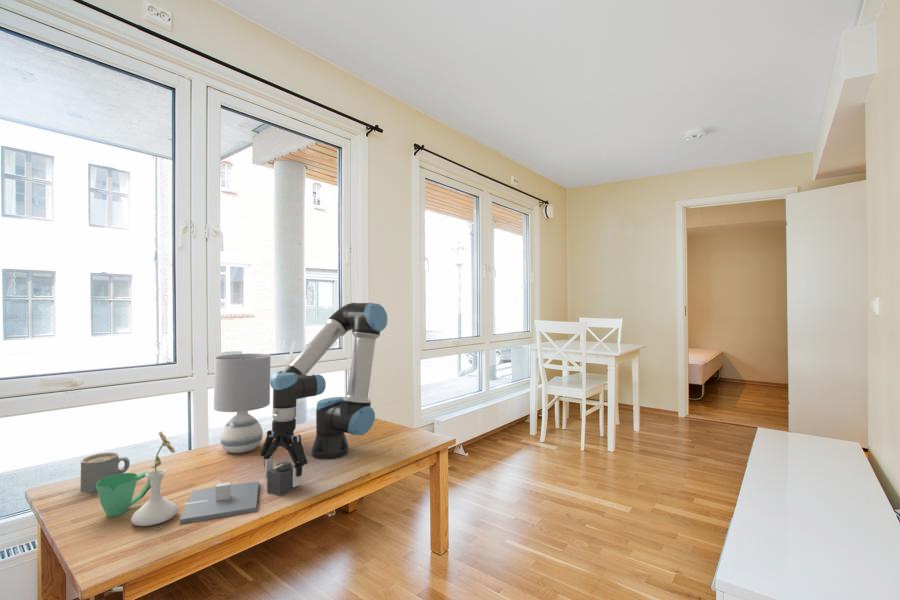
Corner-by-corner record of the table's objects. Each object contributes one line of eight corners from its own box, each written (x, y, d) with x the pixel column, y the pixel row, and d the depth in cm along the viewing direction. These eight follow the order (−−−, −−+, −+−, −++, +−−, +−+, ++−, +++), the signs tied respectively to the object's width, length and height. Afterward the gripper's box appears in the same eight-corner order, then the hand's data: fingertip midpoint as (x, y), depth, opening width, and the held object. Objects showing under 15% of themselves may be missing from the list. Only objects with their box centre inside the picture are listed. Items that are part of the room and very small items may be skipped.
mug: (104, 524, 120) (105, 489, 120) (89, 515, 125) (90, 481, 125) (160, 503, 132) (161, 471, 133) (144, 495, 137) (145, 465, 137)
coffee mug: (82, 495, 137) (82, 465, 137) (78, 486, 144) (79, 457, 144) (132, 483, 147) (133, 454, 147) (127, 475, 153) (127, 447, 153)
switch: (258, 484, 146) (258, 468, 146) (256, 511, 128) (256, 492, 128) (190, 494, 139) (191, 477, 139) (177, 524, 120) (177, 504, 120)
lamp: (233, 463, 166) (234, 361, 166) (202, 452, 176) (203, 357, 177) (279, 447, 184) (280, 355, 184) (249, 438, 195) (250, 352, 195)
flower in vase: (170, 527, 118) (171, 439, 119) (123, 533, 115) (124, 442, 115) (185, 505, 131) (186, 425, 131) (143, 510, 128) (144, 428, 128)
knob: (286, 482, 148) (287, 458, 148) (299, 486, 145) (299, 461, 145) (267, 492, 141) (267, 466, 141) (280, 496, 138) (280, 469, 138)
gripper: (250, 416, 146) (248, 477, 145) (302, 426, 134) (300, 493, 134) (268, 411, 152) (266, 470, 152) (319, 421, 141) (317, 484, 140)
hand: (282, 481), depth 143 cm, fingers open, 13 cm apart
